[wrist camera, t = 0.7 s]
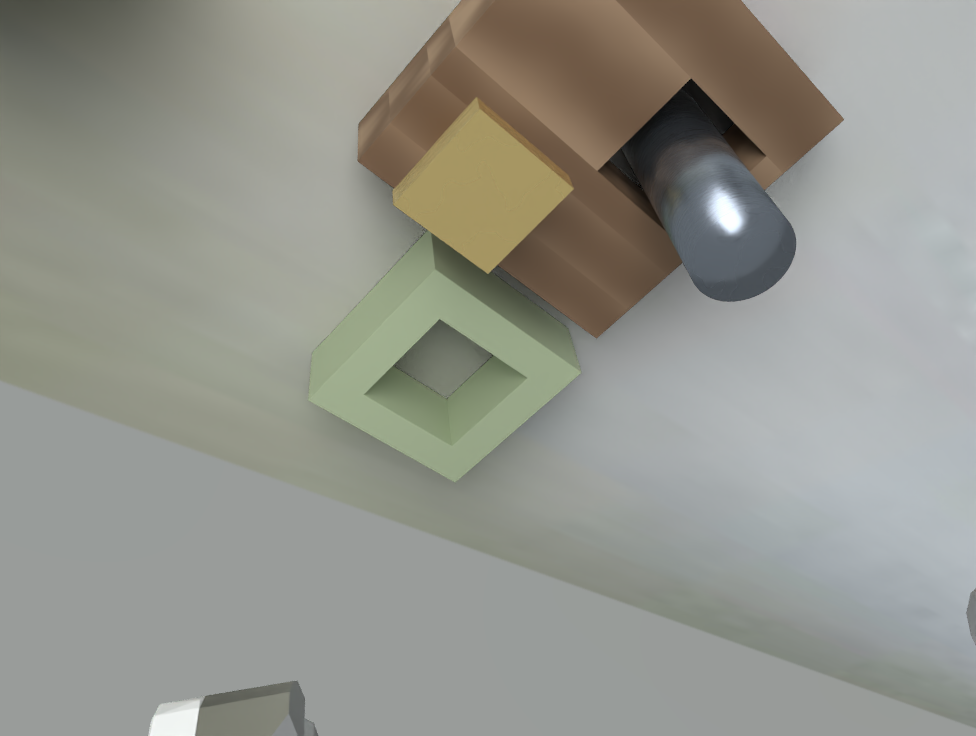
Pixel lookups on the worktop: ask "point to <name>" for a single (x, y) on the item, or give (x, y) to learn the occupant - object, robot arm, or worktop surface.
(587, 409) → the worktop surface
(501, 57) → the socket block
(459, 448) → the square ring
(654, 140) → the peg
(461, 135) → the yellow square block
